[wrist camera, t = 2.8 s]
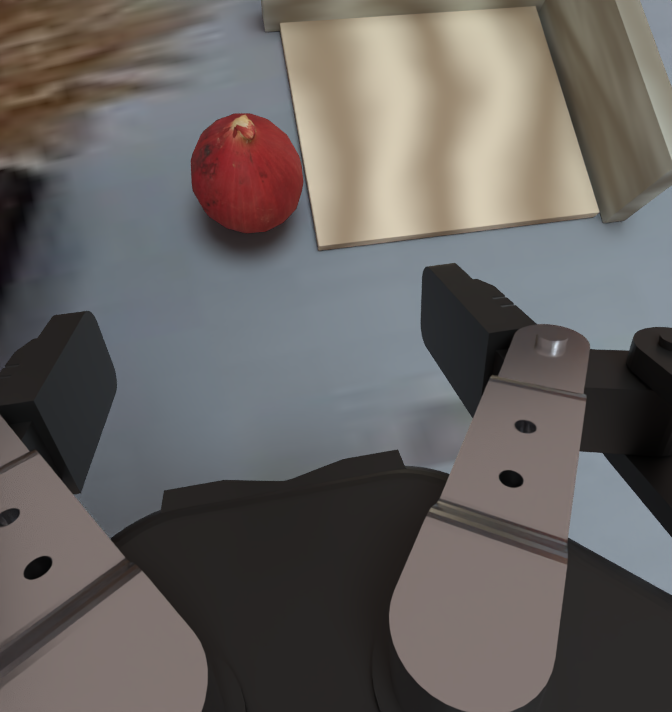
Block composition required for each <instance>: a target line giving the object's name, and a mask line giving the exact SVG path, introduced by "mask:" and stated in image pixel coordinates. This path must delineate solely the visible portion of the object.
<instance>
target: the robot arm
mask: <svg viewBox="0 0 672 712" xmlns="http://www.w3.org/2000/svg"><path fill="white" fill-rule="evenodd" d="M421 332H422V338H423V341H424V344H425V346H426V348H427V349H428V351H429V352H430V354H431V355H432V357H433V358H434V360H435V361H436V363H437V364H438V366H439V367H440V369H441V370H442V372H443V374H444V375H445V377H446V378H447V380H448V381H449V383H450V384H451V386H452V387H453V389H454V390H455V392H456V393H457V395H458V396H459V398H460V400H461V401H462V403H463V404H464V406H465V407H466V409H467V410H468V412H469V413H470V415H471V416H472V418H473V420H472V422H471V424H470V427H469V429H468V432H467V434H466V436H465V439H464V441H463V444H462V446H461V448H460V451H459V453H458V456H457V458H456V461H455V463H454V465H453V468H452V470H451V473H450V474H448V473H445V472H441V471H438V470H433V469H429V468H423V467H414V466H404V463H403V461H402V458H401V456H400V453H399V451H398V450H393V451H387V452H381V453H376V454H370V455H364V456H359V457H353V458H347V459H342V460H340V461H337V462H334V463H332V464H329V465H327V466H324V467H321V468H319V469H316V470H314V471H311V472H309V473H306V474H303V475H301V476H298V477H296V478H293V479H290V480H286V481H243V480H222V481H216V482H210V483H205V484H199V485H193V486H188V487H182V488H176V489H171V490H165V491H164V494H163V500H162V507H161V510H159V511H157V512H154V513H152V514H150V515H148V516H146V517H144V518H142V519H140V520H138V521H136V522H135V523H133V524H131V525H129V526H128V527H126V528H125V529H123V530H122V531H120V532H119V533H117V534H116V535H115V536H113V537H112V538H111V539H109V537H108V536H107V535H106V534H105V532H104V531H103V530H102V529H101V528H100V526H99V525H98V524H97V523H96V522H95V520H94V519H93V518H92V517H91V516H90V514H89V513H88V512H87V511H86V510H85V508H84V507H83V506H82V505H81V503H80V502H79V501H78V500H77V499H76V497H75V496H74V495H73V494H79V493H81V490H82V488H83V485H84V482H85V479H86V476H87V473H88V470H89V468H90V465H91V462H92V459H93V456H94V453H95V451H96V448H97V445H98V442H99V439H100V436H101V434H102V431H103V428H104V425H105V422H106V419H107V416H108V414H109V411H110V408H111V405H112V402H113V399H114V397H115V394H116V389H117V379H116V373H115V369H114V366H113V363H112V360H111V358H110V355H109V352H108V350H107V347H106V344H105V342H104V339H103V336H102V334H101V331H100V328H99V326H98V323H97V321H96V319H95V317H94V315H93V314H92V313H91V312H90V311H83V312H76V313H68V314H61V315H54V316H53V317H52V318H51V320H50V321H49V322H48V324H47V325H46V327H45V328H44V330H43V331H42V332H41V334H40V335H39V337H38V338H37V339H33V340H31V341H30V342H28V343H27V344H26V345H24V346H23V347H21V348H20V349H19V350H17V351H16V352H15V353H14V354H13V356H12V357H11V358H10V360H9V361H8V362H7V364H6V365H5V368H3V369H2V370H1V372H0V712H672V595H670V594H668V593H667V592H665V591H663V590H661V589H659V588H658V587H656V586H654V585H652V584H650V583H649V582H647V581H645V580H643V579H642V578H640V577H638V576H636V575H634V574H633V573H631V572H629V571H627V570H625V569H624V568H622V567H620V566H618V565H616V564H615V563H613V562H611V561H609V560H607V559H606V558H604V557H602V556H600V555H598V554H597V553H595V552H593V551H591V550H589V549H588V548H586V547H584V546H582V545H580V544H579V543H577V542H575V541H573V540H571V539H570V538H568V532H569V525H570V517H571V510H572V502H573V495H574V488H575V480H576V473H577V465H578V458H579V451H583V452H598V453H603V454H604V456H605V457H606V458H607V460H608V461H609V462H610V463H611V464H612V466H613V467H614V468H615V469H616V470H617V472H618V473H619V474H620V475H621V477H622V478H623V479H624V480H625V481H626V483H627V484H628V485H629V486H630V487H631V489H632V490H633V491H634V492H635V493H636V495H637V496H638V497H639V498H640V499H641V501H642V502H643V503H644V504H645V506H646V507H647V508H648V509H649V510H650V512H651V513H652V514H653V515H654V516H655V518H656V519H657V520H658V521H659V522H660V524H661V525H662V526H663V527H664V529H665V530H666V531H667V532H668V533H669V535H670V536H671V537H672V328H667V327H652V328H645V329H642V330H640V331H638V332H637V333H635V335H634V337H633V340H632V343H631V346H630V350H629V351H622V350H595V349H590V344H589V342H588V340H587V339H586V338H585V337H584V336H583V335H581V334H580V333H578V332H576V331H574V330H571V329H569V328H566V327H562V326H557V325H550V324H536V323H535V322H534V321H533V320H532V319H531V318H529V317H528V316H527V315H526V314H525V313H524V312H523V311H522V310H520V309H519V308H518V307H517V306H516V305H514V303H513V302H512V301H510V300H509V299H508V298H507V297H506V298H505V295H504V294H503V293H501V292H500V291H499V290H498V289H497V288H496V287H495V286H493V285H490V284H488V283H486V282H483V281H481V280H479V279H472V278H471V277H470V276H469V275H468V274H467V273H466V272H464V271H463V270H462V269H461V268H460V267H459V266H458V265H457V264H456V263H451V264H443V265H436V266H428V267H425V268H424V271H423V275H422V298H421Z"/></svg>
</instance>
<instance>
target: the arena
mask: <svg viewBox="0 0 672 712" xmlns="http://www.w3.org/2000/svg"><path fill="white" fill-rule="evenodd" d="M261 6H262V16H263V22H264V28H265V32H272V31H280V33H281V39H282V45H283V51H284V56H285V62H286V68H287V73H288V79H289V85H290V91H291V96H292V102H293V108H294V113H295V119H296V125H297V131H298V136H299V142H300V148H301V153H302V159H303V165H304V171H305V176H306V182H307V188H308V193H309V199H310V205H311V210H312V216H313V222H314V228H315V233H316V239H317V245H318V250H319V251H320V250H328V249H337V248H345V247H353V246H361V245H369V244H377V243H385V242H394V241H402V240H410V239H418V238H426V237H434V236H443V235H451V234H459V233H467V232H475V231H483V230H492V229H500V228H508V227H516V226H524V225H532V224H541V223H549V222H557V221H565V220H573V219H581V218H589V217H595V216H596V215H597V214H598V213H599V211H600V214H601V217H602V220H603V223H608V222H616V221H624V220H626V219H627V218H629V217H630V216H631V215H633V214H634V213H635V212H637V211H638V210H639V209H641V208H642V207H643V206H645V205H646V204H647V203H649V202H650V201H651V200H653V199H654V198H655V197H657V196H658V195H659V194H661V193H662V192H663V191H665V190H666V189H667V188H669V187H670V186H671V185H672V87H671V84H670V81H669V79H668V76H667V73H666V71H665V68H664V65H663V62H662V60H661V57H660V54H659V51H658V49H657V46H656V43H655V40H654V38H653V35H652V32H651V30H650V27H649V24H648V21H647V19H646V16H645V13H644V10H643V8H642V5H641V2H640V0H261ZM539 18H540V19H539ZM540 21H541V22H540ZM541 24H542V25H541ZM544 34H545V35H544ZM545 37H546V38H545ZM546 40H547V41H546ZM548 47H549V48H548ZM549 50H550V51H549ZM550 53H551V54H550ZM553 63H554V64H553ZM554 66H555V67H554ZM555 69H556V70H555ZM558 79H559V80H558ZM559 82H560V83H559ZM560 85H561V86H560ZM562 92H563V93H562ZM563 95H564V96H563ZM564 98H565V99H564ZM567 108H568V109H567ZM568 111H569V112H568ZM569 114H570V115H569ZM571 121H572V122H571ZM572 124H573V125H572ZM573 127H574V128H573ZM574 130H575V131H574ZM576 137H577V138H576ZM577 140H578V141H577ZM578 143H579V144H578ZM581 153H582V154H581ZM582 156H583V157H582ZM583 159H584V160H583ZM585 166H586V167H585ZM586 169H587V170H586ZM587 172H588V173H587ZM588 175H589V176H588ZM590 182H591V183H590ZM591 185H592V186H591ZM592 188H593V189H592ZM595 198H596V199H595ZM596 201H597V202H596ZM597 204H598V205H597Z"/></svg>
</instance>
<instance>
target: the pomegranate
mask: <svg viewBox="0 0 672 712" xmlns="http://www.w3.org/2000/svg"><path fill="white" fill-rule="evenodd" d="M191 178H192V188H193V192H194V194H195V196H196V197H197V199H198V201H199V202H200V204H201V206H202V207H203V209H204V211H205V212H206V213H207V215H208V216H209V217H210V218H212V219H213V220H215V221H216V222H218V223H219V224H221V225H222V226H224V227H226V228H227V229H231V230H235V231H239V232H243V233H255V232H265V231H268V230H270V229H272V228H274V227H276V226H278V225H280V224H282V223H283V222H284V221H285V220H286V219H287V218H288V217H289V216H290V215H291V214H292V213H293V212H294V211H295V210H296V208H297V205H298V202H299V198H300V195H301V192H302V187H303V175H302V166H301V162H300V158H299V155H298V153H297V152H296V150H295V148H294V146H293V145H292V143H291V141H290V139H289V138H288V136H287V134H285V133H284V132H283V131H282V130H280V129H279V128H278V127H277V126H275V125H274V124H273V123H272V122H271V121H269V120H268V119H265V118H262V117H259V116H256V115H253V114H232V115H229V116H227V117H224V118H221V119H218V120H216V121H215V122H214V123H213V124H212V125H210V126H209V127H208V128H207V129H205V130H204V131H203V133H202V134H201V136H200V138H199V140H198V142H197V145H196V147H195V149H194V152H193V154H192V158H191Z"/></svg>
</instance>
